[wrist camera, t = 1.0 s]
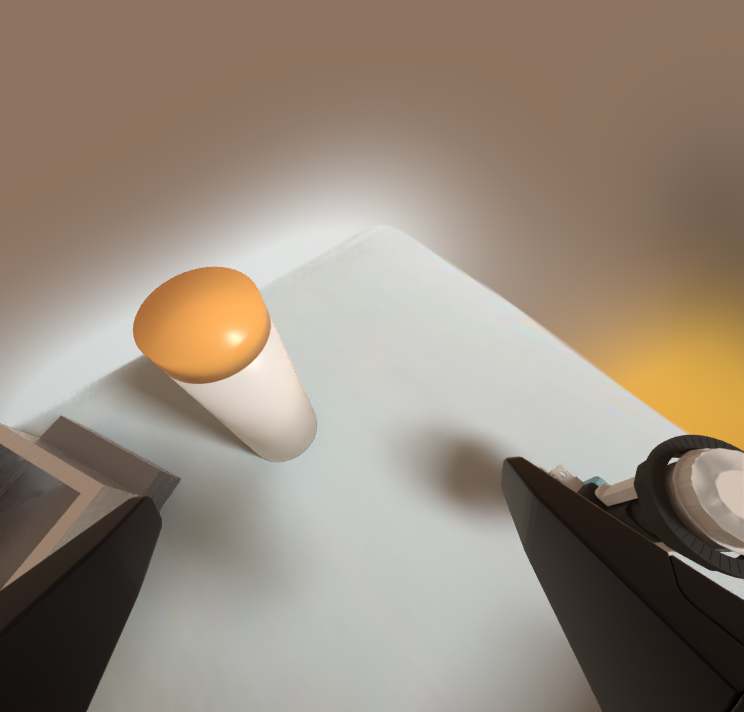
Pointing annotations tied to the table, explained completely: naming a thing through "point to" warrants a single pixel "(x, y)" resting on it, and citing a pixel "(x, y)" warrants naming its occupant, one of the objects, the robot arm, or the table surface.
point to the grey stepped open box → (64, 489)
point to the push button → (681, 500)
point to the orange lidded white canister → (228, 358)
